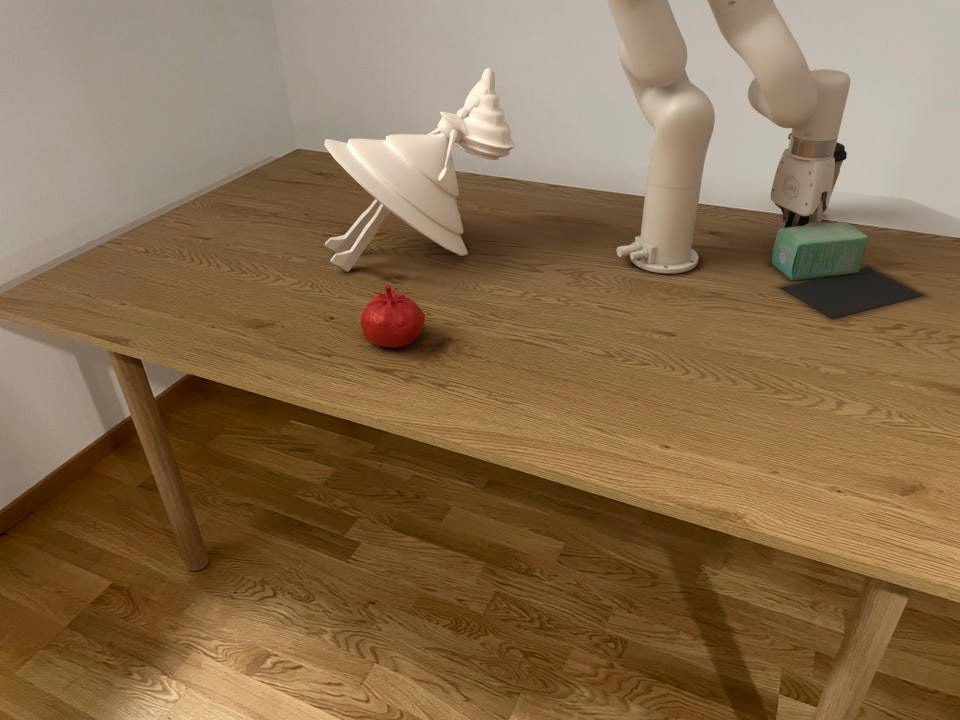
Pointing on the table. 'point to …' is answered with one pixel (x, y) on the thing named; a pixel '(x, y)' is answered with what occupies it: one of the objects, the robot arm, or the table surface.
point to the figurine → (420, 173)
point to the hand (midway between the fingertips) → (790, 243)
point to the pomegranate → (392, 319)
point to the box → (819, 250)
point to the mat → (851, 292)
